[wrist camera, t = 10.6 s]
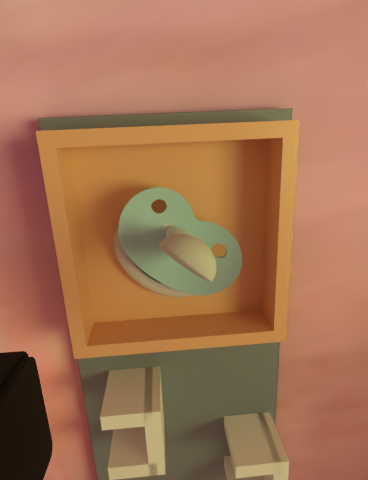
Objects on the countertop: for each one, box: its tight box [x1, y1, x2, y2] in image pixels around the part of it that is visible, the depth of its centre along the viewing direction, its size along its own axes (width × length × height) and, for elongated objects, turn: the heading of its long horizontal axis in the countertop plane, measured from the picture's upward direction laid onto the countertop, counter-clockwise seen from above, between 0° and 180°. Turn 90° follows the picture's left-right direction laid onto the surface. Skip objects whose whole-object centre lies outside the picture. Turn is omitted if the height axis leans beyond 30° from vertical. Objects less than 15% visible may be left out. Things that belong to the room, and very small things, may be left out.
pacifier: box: [113, 187, 242, 298], centre depth 17 cm, size 7×6×6 cm
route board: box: [38, 108, 293, 480], centre depth 22 cm, size 14×33×5 cm, turn 2°
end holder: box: [36, 120, 300, 359], centre depth 19 cm, size 13×13×3 cm
